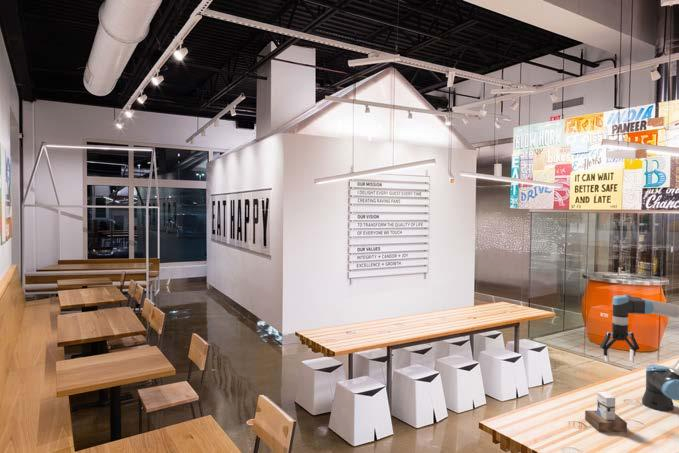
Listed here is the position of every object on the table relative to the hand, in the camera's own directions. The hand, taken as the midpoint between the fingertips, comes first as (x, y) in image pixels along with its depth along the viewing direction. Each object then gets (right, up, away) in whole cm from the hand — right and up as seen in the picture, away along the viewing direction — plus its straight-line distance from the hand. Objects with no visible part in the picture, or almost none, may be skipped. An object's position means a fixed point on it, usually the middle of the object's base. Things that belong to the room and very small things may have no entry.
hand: (619, 361), depth 257 cm
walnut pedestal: (-17, -29, -15) cm, 37 cm away
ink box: (-17, -24, -16) cm, 33 cm away
